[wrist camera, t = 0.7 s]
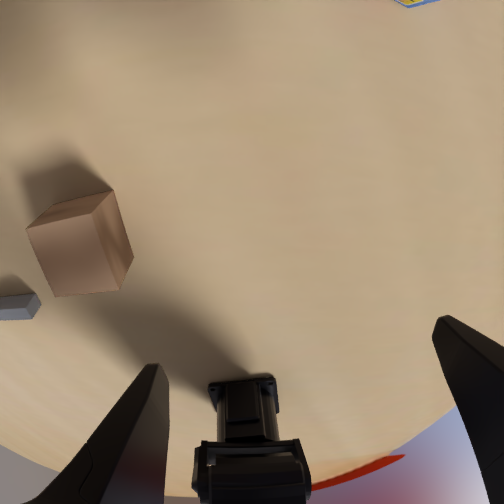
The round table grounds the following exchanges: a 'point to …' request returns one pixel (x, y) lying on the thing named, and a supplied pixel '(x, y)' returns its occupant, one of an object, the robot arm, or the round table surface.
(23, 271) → the round table surface
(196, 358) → the round table surface
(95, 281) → the walnut block
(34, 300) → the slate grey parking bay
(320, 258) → the round table surface
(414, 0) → the ink cartridge box
